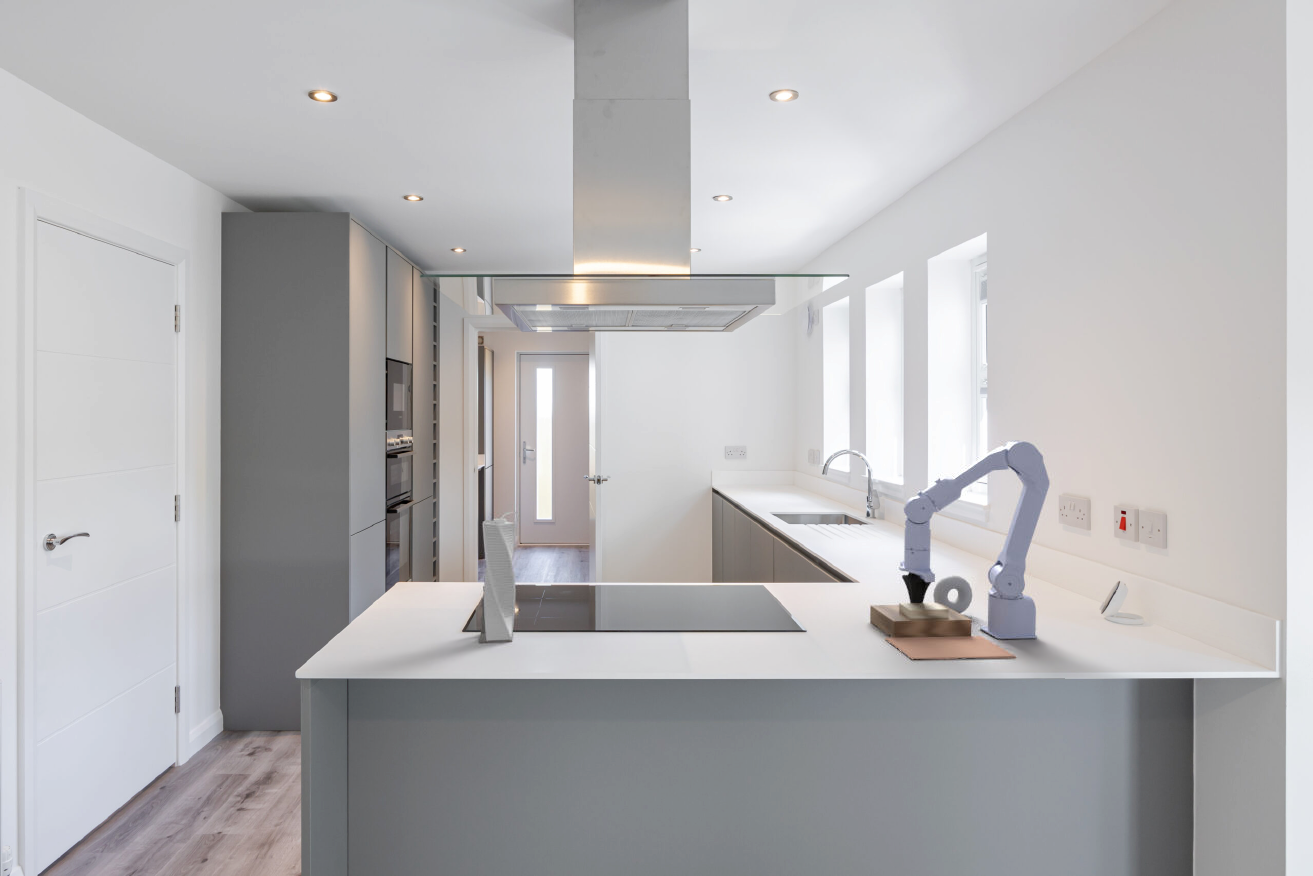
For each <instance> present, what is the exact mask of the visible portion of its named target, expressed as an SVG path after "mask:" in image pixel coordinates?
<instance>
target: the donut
mask: <svg viewBox="0 0 1313 876" xmlns="http://www.w3.org/2000/svg"><path fill="white" fill-rule="evenodd" d="M951 590H956V591H957V597H956V599H955V600H952V601H950V599H949V597H948V596H949V593H950V591H951ZM932 596H933V601H934V602H933V603H938V604H943V605H945V606H947V607H949V608H951V609H952V610H954V611H956V612H958V613H960V614H962V613H963V612H965V611H967V609H968V608H969V607H970V605H971V603H972V599H973V588H972V587H971V585H970V583H969V582H968V581H967V580H966V579H965V578H963V577H961V576H960V575H952V574H951V575H946V576H944V577H943V578H941V579H940V580H939V581H937V583H936V585H935V587H934V589H933V595H932Z"/></svg>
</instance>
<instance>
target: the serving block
mask: <svg viewBox="0 0 1313 876" xmlns="http://www.w3.org/2000/svg"><path fill="white" fill-rule="evenodd" d="M940 605H942V606H944V607H945V608H947V609H949V618H923V619H909V618H908V617H906V616H905V615H903V614H902V613H900V612H899V604H883V605H881V604H875V605H874V604H872V605H871V604H870V610H869V611H870V612H869V613H870V614H869V615H870V617H869V619H870V620H869V621H870V623H871V624H872V625H874V626H875V627H876V626H877V627H876V628H878V629H879V628H880V629H881V630H880V629H879V630H880V631H882V632H883V631H884V632H885V633H884V632H883V633H884V634H886V633H887V634H888V635H887V634H886V635H887V636H889V635H890V636H891V637H892V638H904V637H958V636H972V625H973V624H972V622H973V621H972V620H973V619H971V618H969V617H968V616H966V615H964V614H962V613H958V612H956V611H954V610H952V609H951V608H949V607H947V606H945V605H943V604H940ZM890 636H889V637H890ZM891 637H890V638H891Z"/></svg>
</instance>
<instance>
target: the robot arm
mask: <svg viewBox="0 0 1313 876" xmlns="http://www.w3.org/2000/svg"><path fill="white" fill-rule="evenodd" d="M1009 469H1011V470H1012V471H1014V472H1015V475H1016V477H1018V479H1019V480H1020V482H1021V483H1022V490H1021V492H1020V494H1019V495H1020V496H1019V499H1018V502H1017V504H1016V508H1015V510H1014V514H1013V517H1012V520H1011V523H1010V525H1009V526H1010V527H1009V530H1008V533H1007V536H1006V539H1005V541H1004V545H1003V548H1002V551H1001V552H1000V553H999V554H998V556H997V560H996V561H995V563H994V564H993V565H992V566H991V567H990V568H989V570H988V572H987V578H988V581H989V583H990V584H991V588H990V589H989V590H988V593H987V594H988V599H987V600H988V602H987V603H988V604H987V605H988V607H987V626H980V627H979V630H981V631H982V630H983V632H984V631H985V633H986V634H988V635H990V636H991V635H992V637H993V636H994V638H995V639H999V640H1006V639H1007V640H1009V639H1018V640H1019V639H1038V635H1036V630H1037V626H1036V625H1037V624H1036V623H1037V617H1036V616H1037V607H1036V604H1035V602H1034V601H1035V600H1033V598H1032V597H1031V596H1030V595H1028V594H1025V595H1024V593H1023V591H1024V590H1025V588H1026V587H1025V585H1026V582H1025V572H1026V567H1027V566H1026V558H1027V555H1028V552H1029V550H1030V549H1029V548H1030V546H1031V543H1032V540H1033V537H1034V533H1035V531H1036V527H1037V524H1038V522H1039V518H1040V515H1041V512H1042V509H1043V506H1044V504H1045V500H1046V497H1047V494H1048V491H1049V487H1050V479H1049V475H1048V471H1047V469H1046V465H1045V462H1044V456H1043V454H1042V453H1041V452H1040V451H1039V450H1038V448H1037V447H1035V445H1034V444H1033V443H1031V442H1029V441H1020V440H1011V441H1010V440H1009V441H1008V442H1006V443H1005V444H1004V445H1003V446H998V447H997V448H995V449H993V450H990V452H988V453H987V454H985V455H983V456H982V457H981V458H980V459H977V461H975V462H973V463H972V464H971V465H969V466H968V467H967V468H965V469H964V470H963V471H961V472H959V473H958V474H957V475H956V476H954V477H949V476H944V477H942V478H941V477H937V478H936V479H935V480H934V483H933V484H932V485H930V486H929V487H927V488H926V489H924V491H923V490H922V491H921V490H919V491H917V493H916V495H918V496H914V497H913V496H912V497H910V498H909V499H908V500H907V501H906V502H905V504H904V507H903V511H904V512H903V513H904V514H905V516H906V517H905V521H904V524H905V528H904V546H903V547H904V552H903V553H904V555H903V557H904V558H903V561H900V566H899V567H898V568H899V570H900V571H901V572H907V574H904V575H901V576H902V577H901V578H902V580H903V581H904V584H905V587H906V590H907V594H908V598H909V603H924V600H925V597H926V593H927V590H928V588H929V587H930V585H931V583H935V582H936V581H935V580H936V574H935V573H934V572H933V570H932V567H931V528H930V525H931V523H930V521H931V519H932V517H933V513H939V512H940V511H941V510H943V509H944V508H946V507H947V506H949V505H951V504H952V503H954V502H955V501H957V500H959V499H960V498H961V496H962V491H963V489H965V488H966V487H968V486H970V485H972V484H973V483H975V482H977V481H978V480H980V479H982V478H983V477H984V476H987V475H988V474H990V473H992V472H994V471H1003V470H1004V471H1005V470H1009Z"/></svg>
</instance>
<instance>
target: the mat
mask: <svg viewBox="0 0 1313 876" xmlns="http://www.w3.org/2000/svg"><path fill="white" fill-rule="evenodd" d="M884 640H885V641H886V640H887V641H886V642H888V643H889V642H890V643H891V644H892V646H893V645H894V646H895V647H896V648H895V647H894V646H893V647H894V648H895V649H897V648H898V649H899V650H901V651H902V652H903V653H905V654H906V655H907V656H909V658H908V659H910V658H911V659H912V660H911V659H910V660H911V661H914V660H913V659H939V660H959V659H958V658H986V659H1015V658H1016V655H1015V654H1012V653H1011V652H1010V651H1007V650H1006V649H1004V648H1002V647H1000V646H999V645H997V644H995V643H993V642H992V641H991V640H988V639H987V638H985V637H984V636H981V635H976V636H975V635H971V636H958V637H904V638H891V637H884ZM890 643H889V644H890ZM891 644H890V645H891ZM898 649H897V650H898ZM899 650H898V651H899ZM901 651H900V652H901ZM902 652H901V653H902ZM903 653H902V654H903ZM906 655H905V656H906ZM907 656H906V657H907ZM947 658H948V659H947Z"/></svg>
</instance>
